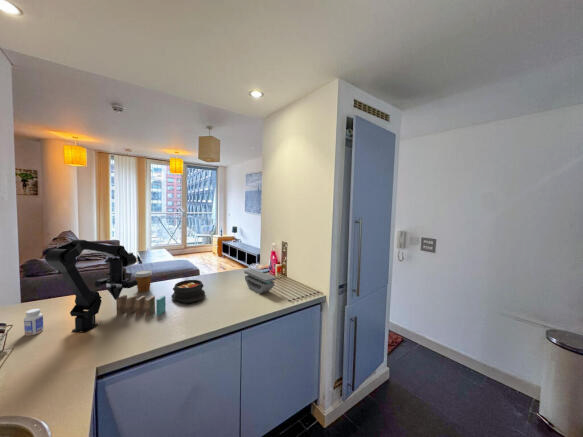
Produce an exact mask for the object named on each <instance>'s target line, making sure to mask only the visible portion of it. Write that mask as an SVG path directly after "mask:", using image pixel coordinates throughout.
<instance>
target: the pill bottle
mask: <svg viewBox="0 0 583 437" xmlns="http://www.w3.org/2000/svg"><path fill="white" fill-rule="evenodd" d="M25 314H26V316H25V317H24V318H23V327H24V336H26V337H27V336H29V337H30V336H34V335H38V334H40V333H41V332H43V331H44V315H43V313H41V309H40V308H32V309H29V310H27V311H25Z"/></svg>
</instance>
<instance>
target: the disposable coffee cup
mask: <svg viewBox="0 0 583 437" xmlns="http://www.w3.org/2000/svg"><path fill="white" fill-rule="evenodd" d="M152 275H153V272H152V270H149V269H144V270H143V269H142V270H139V271H136V272H135V274H134V276H135V279H136V280H137V281H138V284H137V285H136V289H137V292H138V293H144V292H149V291H150V288H151V281H152Z"/></svg>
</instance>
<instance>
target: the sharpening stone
mask: <svg viewBox="0 0 583 437" xmlns="http://www.w3.org/2000/svg"><path fill="white" fill-rule="evenodd" d="M243 273H244V274H245V276H244V281H245V282H246V284H247V287H248V289H249V290H251V291H253V292H254V293H256V294H258V295H260V294H265V293H267V292H270V291H271V290H272V289H273V288H274V287H275V282H274V281H276V277H275V276H274V275H273V276H272V275H269V274H267V273H264V272H262V271H260V270H257V269H255V268H252V269H247V270H244V271H243Z"/></svg>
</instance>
